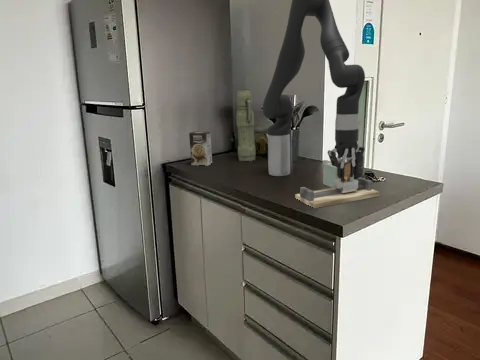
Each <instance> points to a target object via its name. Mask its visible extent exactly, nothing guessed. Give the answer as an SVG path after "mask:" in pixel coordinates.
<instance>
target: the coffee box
mask: <svg viewBox="0 0 480 360" xmlns="http://www.w3.org/2000/svg"><path fill="white" fill-rule="evenodd" d="M188 135H189V138H188V139H189V150H190V164H191V166H199V165H205V167H208V166H210V165H211V163H212V164H213V155H212V154H213V153H212V136H211V135H212V133H211V131H198V130H197V131H195V130H193V131H191V132H189V133H188Z"/></svg>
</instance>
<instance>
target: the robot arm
mask: <svg viewBox="0 0 480 360" xmlns="http://www.w3.org/2000/svg"><path fill="white" fill-rule="evenodd" d="M306 17H315V19H316V20H317V21H318V22H319V24H320V28H321V29H320V39H319V40H320V41H319V42H320V46H321V49H322V51H323V54H324V55H325V57H326V60H327V63H328V67H329V75H330V79H331V82H332V83H333V84H334V86H335V87H337V88H339V89H344V88H346V89H345V92H344V94H341V95H339V96H338V97H337V98H336V110H335V111H336V114H335V123H334V125H335V127H334V128H335V129H334V141H335V142H334V143H335V145H334V148H333V149H331V150H330V149H329V150H328V151H327V155H328V157H329V160H330V163H332V166H335V167H337V176H338V178H340V179H343V178H344V168H343V167H344V162H346V158H347V160H348V162H351V174H350V177H353V175H354V166H355V165H356V164H359V163H360V160H361V158H362V155H363V156H364V152H365V147H364V146H359V144H358V141H359V131H360V130H359V127H360V118H359V108H360V107H359V106H360V105H359V102H360V99H361V96H362V92H363V88H364V84H365V80H366V73H365V70H364V68H363V67H362V65H360V64H346V63H345V62H346V61H348V60H349V58H350V52H349V49H348V48H347V45H346V43H345V41H344V39H343V37H342V36H341V33H340V31H339V28H338V26H337V23H336V19H335V15H334V13H333V9H332V5H331V3H330V0H291V5H290V9H289V15H288V20H287V26H286V29H285V33H284V38H283V41H282V45H281V48H280V50H279V55H278V58H277V61H276V65H275V69H274V73H273V76H272V78H271V79H272V80H271V82H270V84H269V87H268V89H267V91H266V94H265V97H264V100H263V103H262V113H263V116H264V117H265V118H266V119H268V120H269V119H270V120H273V119H276V121H275V122H274V124H272V125H270V126H269V127H268V128H267V162H268V167H267V168H268V175H270V176H271V177H272V176H274V177H285V176H289V175H290V174H291V141H290V140H291V139H290V138H291V136H290V135H291V133H290V132H291V128H292V116H293V115H292V114H293V113H292V112H293V107H292V106H293V105H292V100H291V98H290V97H289V96H288V95H287V94H283V92H284V91H285V89H286V87H287V86H288V85H289V84H290V83H291V82H292V81H293V79H295V77H296V76H297V75H298V74H299V73H300V70H301V68H302V65H303V62H304V57H305V54H306V51H305V43H304V40H303V35H302V31H303V25H304V22H305V18H306ZM355 151H356V153H355Z"/></svg>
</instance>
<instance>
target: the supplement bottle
mask: <svg viewBox="0 0 480 360" xmlns="http://www.w3.org/2000/svg"><path fill="white" fill-rule="evenodd" d="M355 153H356V151H355ZM345 162H348V160H347V158H346V161H345ZM364 163H365V156H364V154H363V155H362V158H361V160H360V163H359V164H356V165H355V166H354V179H357V178H360V177H362V178H364V173H365V172H364V170H365V169H364V167H365V166H364V165H365V164H364Z"/></svg>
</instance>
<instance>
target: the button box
mask: <svg viewBox="0 0 480 360" xmlns="http://www.w3.org/2000/svg"><path fill="white" fill-rule="evenodd" d="M322 172H323V174H322V177H323V178H322V179H323V180H322V181H323V182H322V184H323V185H325V186H327V187H329V188H334V187H333V179H336V178H338V176H337V167H335V166H332V163H331V162H328V163H323V171H322ZM350 178H353V179H355V178H354V175H353V177H350Z"/></svg>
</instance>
